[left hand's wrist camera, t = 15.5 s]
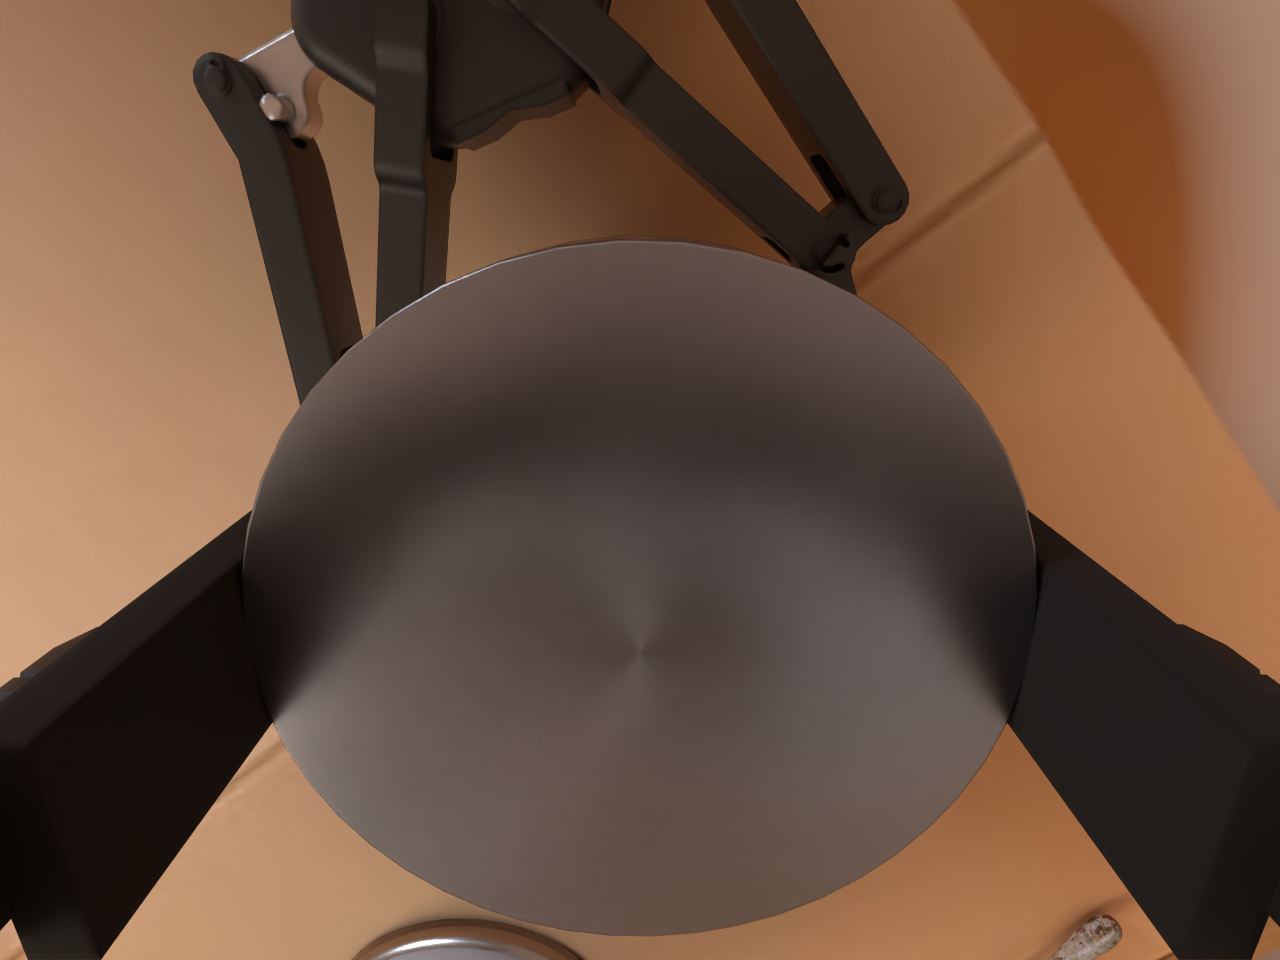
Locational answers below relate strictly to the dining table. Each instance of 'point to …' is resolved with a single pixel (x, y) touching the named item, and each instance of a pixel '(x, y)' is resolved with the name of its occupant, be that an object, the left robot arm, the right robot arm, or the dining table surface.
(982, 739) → the lid
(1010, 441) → the dining table surface
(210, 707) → the left robot arm
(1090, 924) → the putty knife
